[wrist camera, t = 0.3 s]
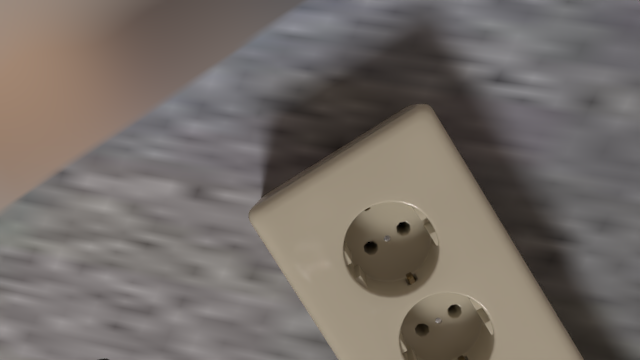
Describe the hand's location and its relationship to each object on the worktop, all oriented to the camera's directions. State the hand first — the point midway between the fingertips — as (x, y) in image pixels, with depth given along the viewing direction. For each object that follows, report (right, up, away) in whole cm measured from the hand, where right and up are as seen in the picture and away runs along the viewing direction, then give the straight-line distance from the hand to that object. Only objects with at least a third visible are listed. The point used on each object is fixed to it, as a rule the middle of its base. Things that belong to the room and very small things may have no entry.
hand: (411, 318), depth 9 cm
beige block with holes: (+4, -4, +15) cm, 17 cm away
